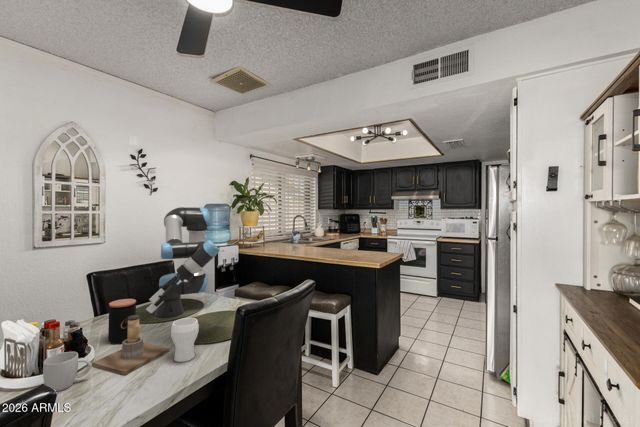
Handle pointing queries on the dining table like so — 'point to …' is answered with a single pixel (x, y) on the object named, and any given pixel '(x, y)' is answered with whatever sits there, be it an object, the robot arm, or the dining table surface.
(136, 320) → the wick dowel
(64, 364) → the mug
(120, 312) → the coffee jar
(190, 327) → the cup
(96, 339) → the dining table surface
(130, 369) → the base
